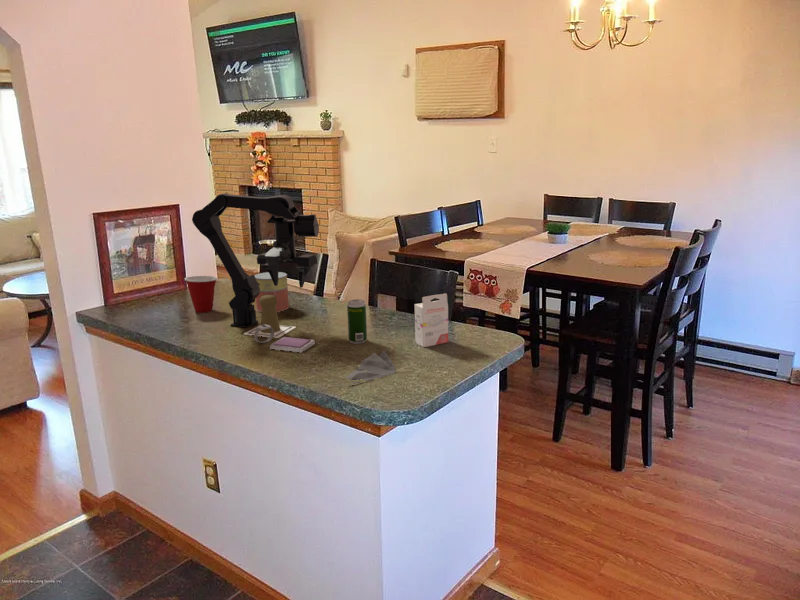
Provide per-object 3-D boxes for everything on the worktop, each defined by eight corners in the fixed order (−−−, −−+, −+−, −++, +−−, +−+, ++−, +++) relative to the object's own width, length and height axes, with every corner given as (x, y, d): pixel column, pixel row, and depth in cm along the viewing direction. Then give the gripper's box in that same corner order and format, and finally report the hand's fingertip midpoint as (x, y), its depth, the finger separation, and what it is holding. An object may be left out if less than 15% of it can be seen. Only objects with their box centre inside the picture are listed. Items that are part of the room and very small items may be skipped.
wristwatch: (258, 346, 180) (257, 329, 179) (253, 344, 182) (251, 327, 181) (276, 340, 185) (275, 324, 183) (270, 339, 186) (269, 322, 185)
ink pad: (270, 349, 177) (269, 344, 177) (284, 340, 185) (284, 335, 184) (301, 352, 174) (301, 347, 174) (314, 343, 181) (314, 339, 181)
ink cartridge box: (439, 338, 184) (439, 289, 181) (448, 342, 180) (448, 293, 176) (414, 342, 181) (413, 293, 177) (422, 347, 176) (422, 297, 173)
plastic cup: (227, 308, 220) (223, 275, 217) (202, 316, 211) (199, 281, 208) (205, 304, 226) (202, 272, 222) (181, 312, 217) (177, 278, 214)
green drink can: (369, 342, 182) (368, 302, 179) (352, 345, 179) (351, 304, 176) (362, 337, 186) (361, 298, 183) (345, 340, 184) (344, 300, 181)
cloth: (367, 394, 147) (367, 385, 147) (320, 383, 154) (320, 375, 153) (419, 360, 169) (419, 352, 168) (376, 352, 176) (376, 344, 175)
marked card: (243, 334, 191) (243, 333, 191) (263, 324, 201) (263, 323, 201) (278, 338, 187) (278, 337, 187) (296, 327, 197) (296, 326, 197)
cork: (275, 333, 190) (273, 298, 188) (257, 332, 192) (254, 297, 189) (283, 327, 196) (280, 293, 193) (265, 326, 197) (262, 292, 195)
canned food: (273, 302, 227) (271, 270, 224) (295, 307, 220) (293, 274, 217) (249, 310, 218) (246, 276, 215) (272, 314, 211) (269, 280, 208)
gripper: (243, 240, 189) (248, 290, 193) (297, 242, 182) (300, 294, 186) (265, 234, 199) (269, 282, 203) (316, 236, 192) (319, 286, 196)
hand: (288, 286), depth 196 cm, fingers open, 9 cm apart
